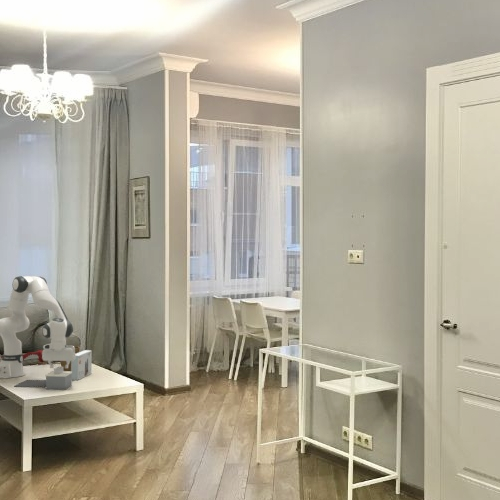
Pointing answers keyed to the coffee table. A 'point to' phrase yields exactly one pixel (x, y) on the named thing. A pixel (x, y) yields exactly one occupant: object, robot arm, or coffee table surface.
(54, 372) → the cream lid
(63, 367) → the plant pot
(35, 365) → the coffee table surface
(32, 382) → the black rubber mat
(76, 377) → the skincare box
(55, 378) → the grey storage box
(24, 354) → the decorative bird sculpture
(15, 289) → the robot arm
